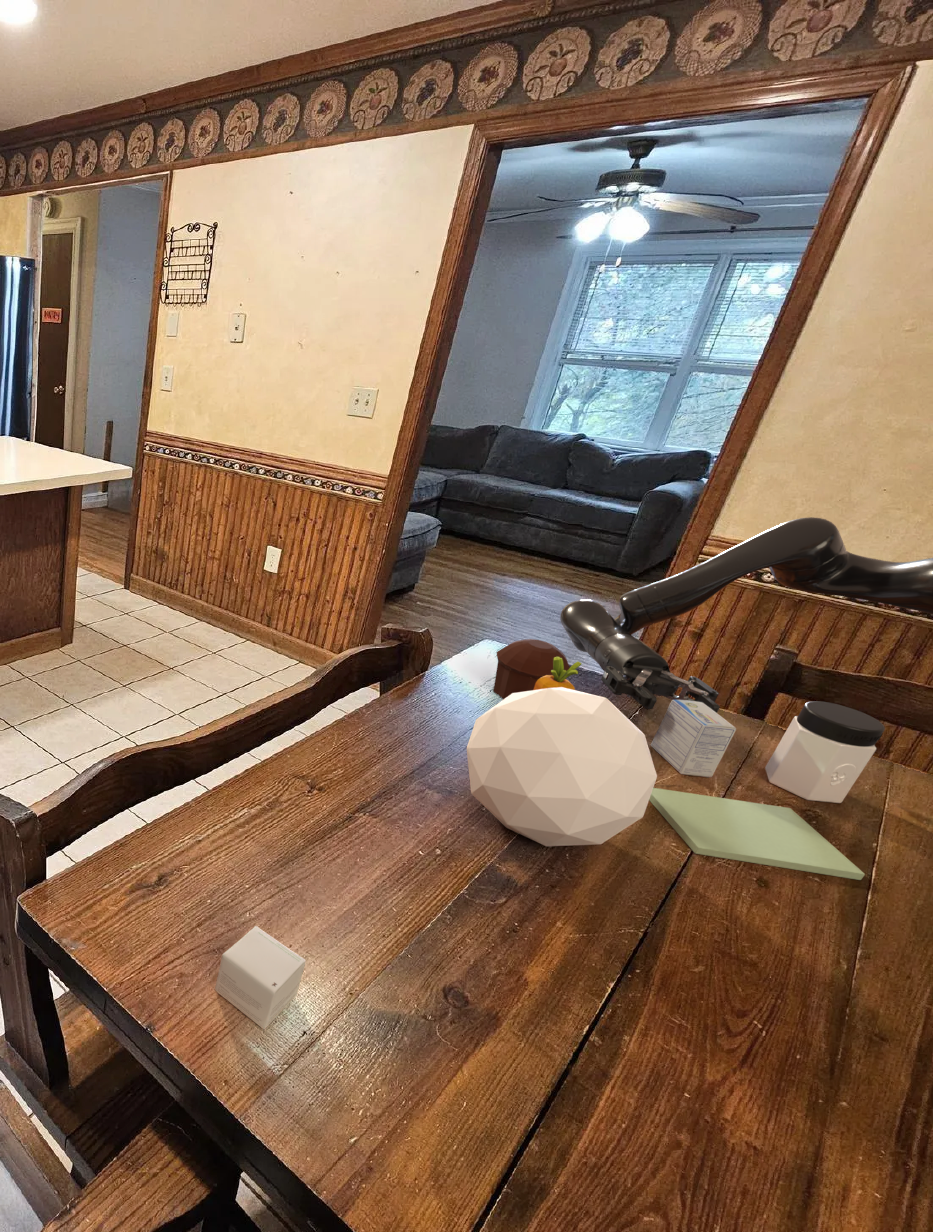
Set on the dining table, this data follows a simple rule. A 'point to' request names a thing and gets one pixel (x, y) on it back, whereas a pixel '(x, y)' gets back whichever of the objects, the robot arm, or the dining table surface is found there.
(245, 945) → the small box
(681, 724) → the medicine box
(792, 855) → the mat
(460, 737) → the dining table surface
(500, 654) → the muffin
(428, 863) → the dining table surface
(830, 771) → the jar
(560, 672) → the carrot
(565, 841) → the ball
